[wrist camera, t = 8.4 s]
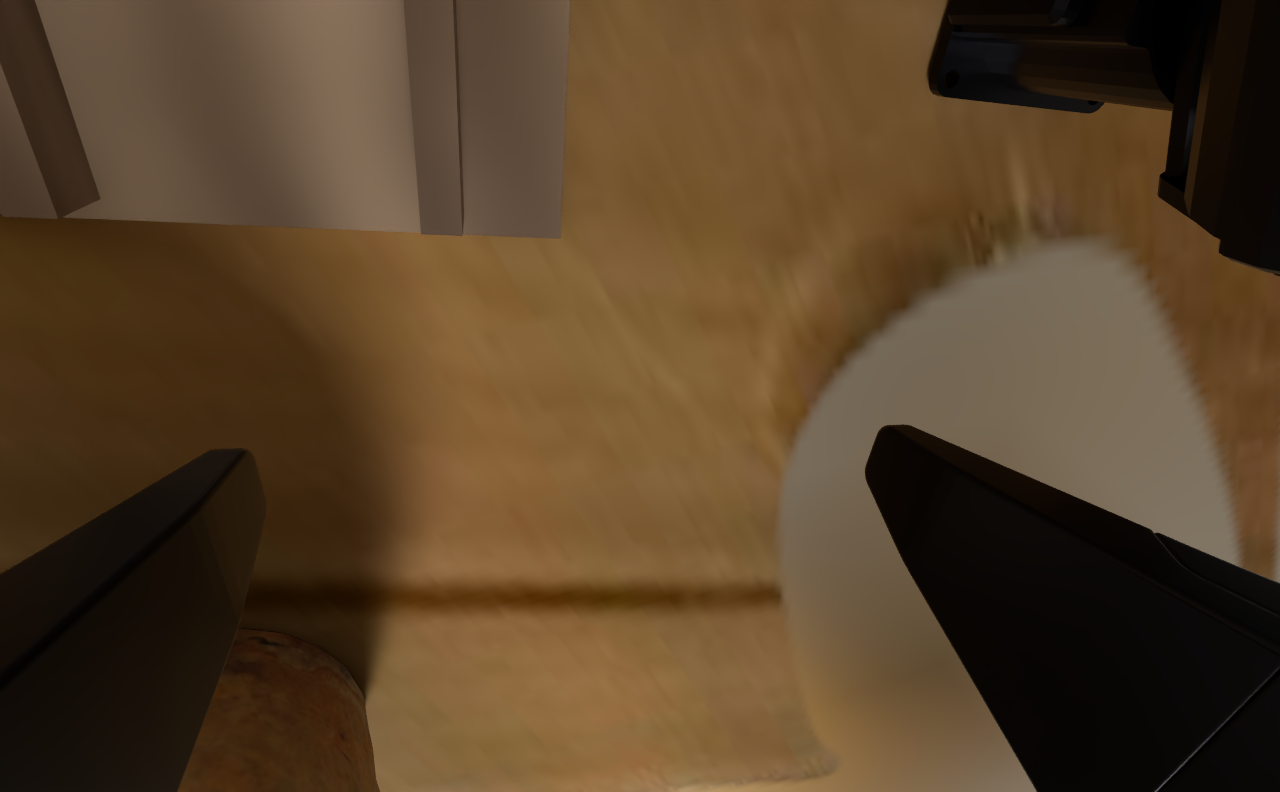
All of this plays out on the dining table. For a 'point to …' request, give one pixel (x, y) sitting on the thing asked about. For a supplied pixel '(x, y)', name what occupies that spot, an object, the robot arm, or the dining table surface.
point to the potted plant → (282, 723)
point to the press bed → (287, 113)
